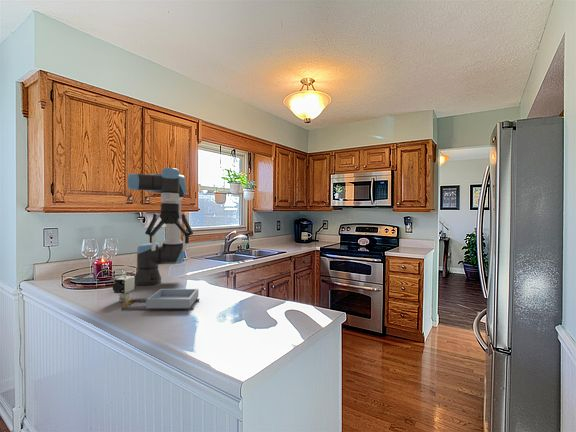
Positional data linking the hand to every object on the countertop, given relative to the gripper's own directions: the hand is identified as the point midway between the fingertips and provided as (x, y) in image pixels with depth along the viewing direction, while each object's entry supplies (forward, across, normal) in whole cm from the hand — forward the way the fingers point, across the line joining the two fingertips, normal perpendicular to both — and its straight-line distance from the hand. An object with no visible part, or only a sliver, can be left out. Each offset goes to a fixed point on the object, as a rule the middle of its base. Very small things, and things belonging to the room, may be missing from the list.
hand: (169, 250), depth 138 cm
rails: (+25, -3, +3) cm, 25 cm away
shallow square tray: (+24, +2, +3) cm, 24 cm away
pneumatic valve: (+25, -24, +9) cm, 36 cm away
